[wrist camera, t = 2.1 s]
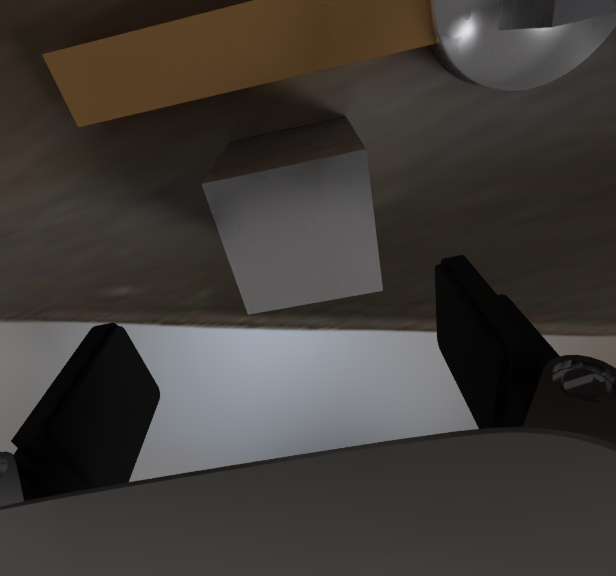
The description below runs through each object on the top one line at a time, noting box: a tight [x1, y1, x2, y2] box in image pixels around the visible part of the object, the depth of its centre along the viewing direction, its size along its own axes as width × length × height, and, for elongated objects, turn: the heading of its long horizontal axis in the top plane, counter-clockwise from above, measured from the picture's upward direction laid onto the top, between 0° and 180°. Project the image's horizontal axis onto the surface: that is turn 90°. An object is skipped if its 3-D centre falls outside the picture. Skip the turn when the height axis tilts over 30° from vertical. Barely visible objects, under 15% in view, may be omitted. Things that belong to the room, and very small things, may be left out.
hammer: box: [42, 0, 616, 127], centre depth 15 cm, size 24×8×6 cm, turn 101°
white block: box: [201, 117, 383, 314], centre depth 19 cm, size 6×6×7 cm
